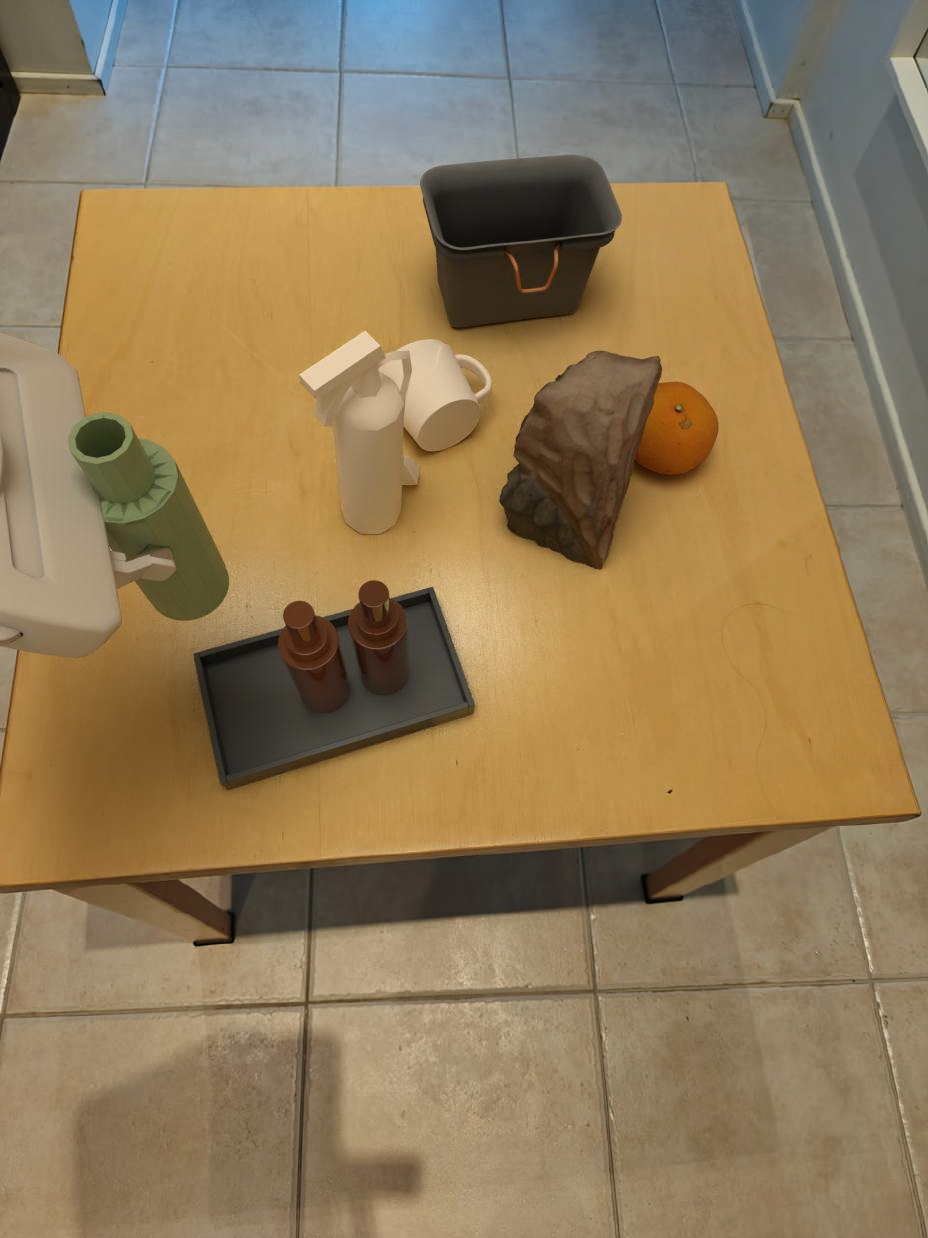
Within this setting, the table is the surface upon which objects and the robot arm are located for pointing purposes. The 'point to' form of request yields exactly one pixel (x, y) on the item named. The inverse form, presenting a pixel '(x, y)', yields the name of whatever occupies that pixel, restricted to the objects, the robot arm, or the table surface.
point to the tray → (296, 736)
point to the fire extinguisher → (365, 430)
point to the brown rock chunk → (580, 454)
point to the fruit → (677, 430)
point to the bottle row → (319, 654)
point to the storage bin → (517, 235)
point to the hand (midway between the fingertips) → (159, 516)
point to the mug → (439, 394)
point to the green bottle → (151, 514)
